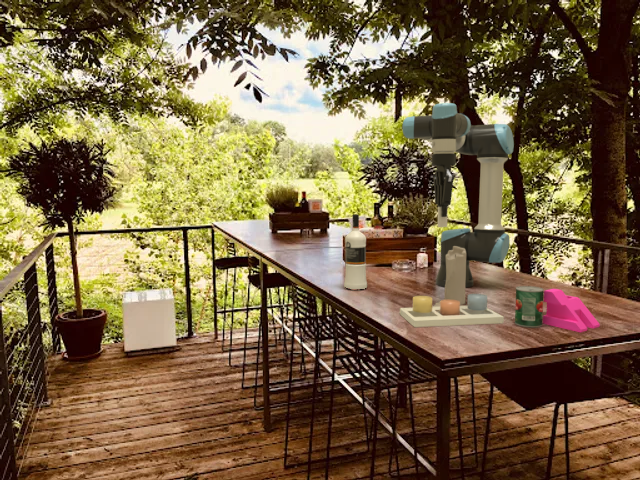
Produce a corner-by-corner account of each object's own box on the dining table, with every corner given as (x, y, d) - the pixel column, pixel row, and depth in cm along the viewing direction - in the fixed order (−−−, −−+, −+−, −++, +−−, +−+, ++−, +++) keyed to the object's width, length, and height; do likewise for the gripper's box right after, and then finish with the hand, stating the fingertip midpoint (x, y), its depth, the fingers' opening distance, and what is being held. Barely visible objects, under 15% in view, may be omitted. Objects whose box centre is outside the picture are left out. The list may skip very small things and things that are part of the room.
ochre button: (410, 308, 173) (410, 296, 173) (428, 307, 174) (428, 295, 173) (416, 313, 167) (416, 300, 167) (434, 312, 168) (435, 299, 168)
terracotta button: (437, 312, 174) (437, 299, 174) (455, 311, 175) (455, 299, 175) (444, 316, 169) (444, 304, 168) (462, 315, 169) (462, 303, 169)
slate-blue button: (464, 306, 175) (464, 294, 175) (482, 305, 176) (482, 293, 176) (472, 310, 170) (472, 298, 169) (490, 309, 170) (490, 297, 170)
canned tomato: (510, 321, 169) (511, 286, 167) (535, 320, 169) (536, 285, 168) (521, 328, 161) (522, 291, 160) (547, 327, 161) (548, 290, 160)
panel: (399, 314, 178) (399, 308, 178) (481, 310, 182) (481, 304, 182) (414, 327, 162) (414, 320, 162) (503, 323, 166) (503, 316, 166)
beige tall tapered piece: (428, 305, 190) (429, 248, 188) (452, 299, 199) (453, 245, 197) (445, 309, 185) (446, 250, 182) (469, 302, 193) (470, 246, 191)
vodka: (371, 289, 218) (371, 214, 214) (351, 291, 213) (351, 215, 210) (359, 285, 226) (359, 213, 222) (340, 287, 222) (339, 214, 218)
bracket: (542, 323, 166) (544, 290, 164) (561, 318, 171) (563, 286, 170) (580, 332, 156) (582, 297, 155) (599, 327, 162) (601, 293, 160)
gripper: (425, 154, 180) (424, 225, 183) (439, 152, 167) (438, 228, 170) (447, 154, 181) (446, 224, 184) (462, 152, 168) (461, 228, 171)
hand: (442, 226), depth 177 cm, fingers closed
